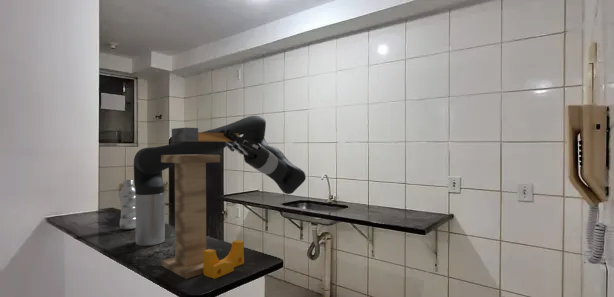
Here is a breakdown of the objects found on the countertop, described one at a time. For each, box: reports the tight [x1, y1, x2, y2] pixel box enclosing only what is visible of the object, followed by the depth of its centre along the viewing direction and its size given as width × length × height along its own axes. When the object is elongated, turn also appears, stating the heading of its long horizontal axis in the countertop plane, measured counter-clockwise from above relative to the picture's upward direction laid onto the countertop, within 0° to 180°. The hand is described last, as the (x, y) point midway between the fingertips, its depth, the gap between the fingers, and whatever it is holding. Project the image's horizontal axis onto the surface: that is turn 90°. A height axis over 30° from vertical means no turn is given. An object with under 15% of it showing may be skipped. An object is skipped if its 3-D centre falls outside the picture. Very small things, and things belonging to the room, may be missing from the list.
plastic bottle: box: [118, 179, 136, 231], centre depth 133 cm, size 6×7×20 cm
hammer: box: [171, 127, 239, 142], centre depth 95 cm, size 8×19×4 cm, turn 138°
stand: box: [161, 154, 221, 280], centre depth 90 cm, size 14×10×31 cm
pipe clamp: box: [203, 239, 245, 279], centre depth 88 cm, size 12×4×6 cm, turn 146°
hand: (222, 132), depth 98 cm, fingers closed on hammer, 2 cm apart
